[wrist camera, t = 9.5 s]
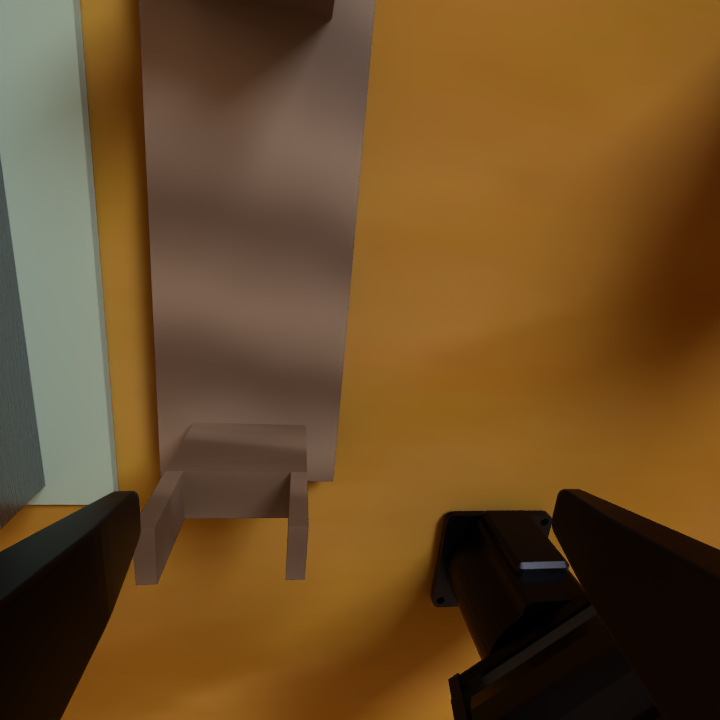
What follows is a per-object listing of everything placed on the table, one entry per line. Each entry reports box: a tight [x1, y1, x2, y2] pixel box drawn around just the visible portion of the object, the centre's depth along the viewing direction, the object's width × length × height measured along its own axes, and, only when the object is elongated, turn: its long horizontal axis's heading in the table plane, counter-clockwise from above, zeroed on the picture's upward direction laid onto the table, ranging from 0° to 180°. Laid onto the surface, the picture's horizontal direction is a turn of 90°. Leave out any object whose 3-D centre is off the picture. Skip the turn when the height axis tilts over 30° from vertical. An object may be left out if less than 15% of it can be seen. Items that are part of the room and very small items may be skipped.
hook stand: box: [134, 0, 375, 585], centre depth 14 cm, size 22×8×8 cm, turn 174°
